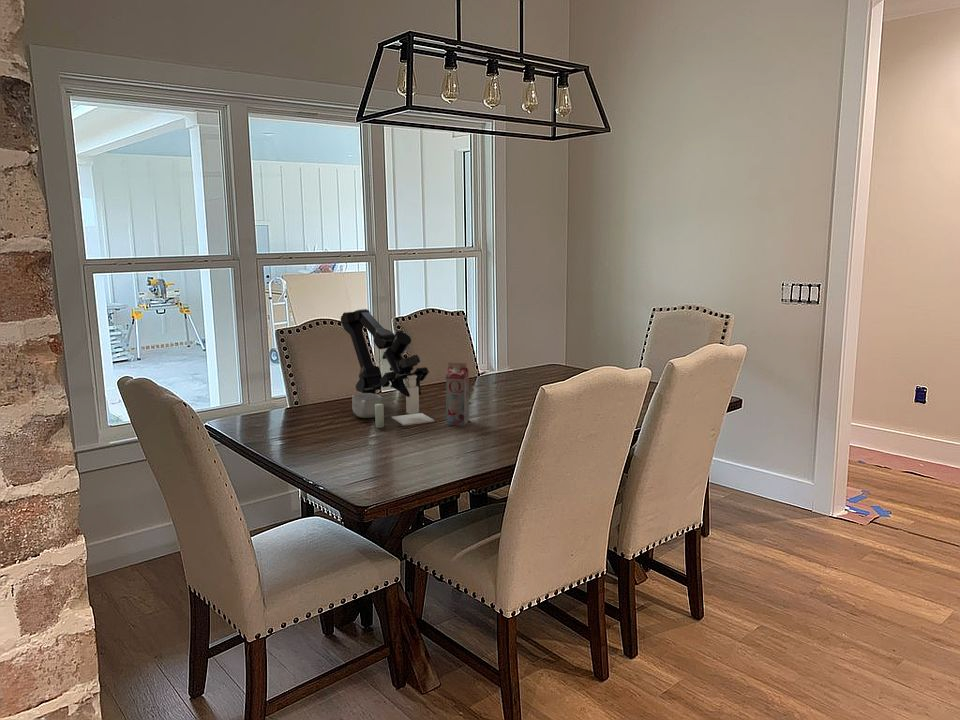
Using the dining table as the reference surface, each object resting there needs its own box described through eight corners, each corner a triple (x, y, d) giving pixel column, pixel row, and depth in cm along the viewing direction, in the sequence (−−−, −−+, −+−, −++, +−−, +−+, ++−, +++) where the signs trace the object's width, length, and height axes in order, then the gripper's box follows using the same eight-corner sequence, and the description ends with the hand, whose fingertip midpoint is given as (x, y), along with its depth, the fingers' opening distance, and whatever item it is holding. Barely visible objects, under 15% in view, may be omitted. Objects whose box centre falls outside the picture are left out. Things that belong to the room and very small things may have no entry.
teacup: (358, 412, 291) (358, 391, 290) (385, 413, 289) (385, 392, 287) (345, 421, 278) (344, 399, 276) (373, 422, 275) (372, 401, 274)
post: (374, 426, 270) (373, 404, 269) (382, 425, 272) (381, 403, 270) (377, 428, 268) (376, 406, 266) (385, 427, 269) (384, 405, 268)
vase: (404, 413, 277) (404, 376, 274) (408, 410, 281) (407, 374, 279) (416, 414, 276) (416, 377, 273) (420, 411, 280) (419, 374, 278)
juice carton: (464, 425, 271) (464, 364, 267) (446, 424, 272) (446, 364, 269) (468, 420, 278) (468, 361, 274) (451, 419, 279) (450, 360, 275)
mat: (391, 418, 282) (391, 416, 281) (421, 414, 287) (421, 412, 287) (403, 425, 271) (403, 424, 271) (434, 421, 276) (434, 420, 276)
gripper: (383, 350, 271) (402, 386, 265) (425, 345, 283) (444, 379, 277) (372, 369, 279) (389, 404, 272) (413, 363, 291) (431, 396, 284)
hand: (414, 395), depth 276 cm, fingers closed on vase, 5 cm apart
